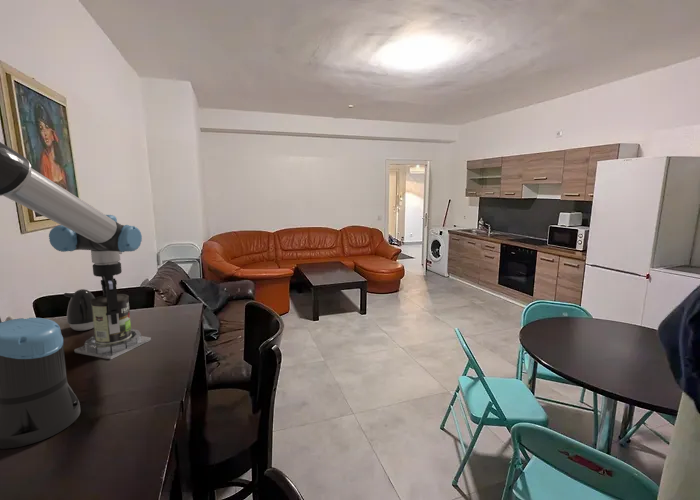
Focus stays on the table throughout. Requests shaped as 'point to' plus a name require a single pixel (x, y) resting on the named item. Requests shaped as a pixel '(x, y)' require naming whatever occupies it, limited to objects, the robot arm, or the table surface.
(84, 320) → the pump dispenser
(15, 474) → the table surface
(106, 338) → the coffee can
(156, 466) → the table surface
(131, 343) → the duct collar
